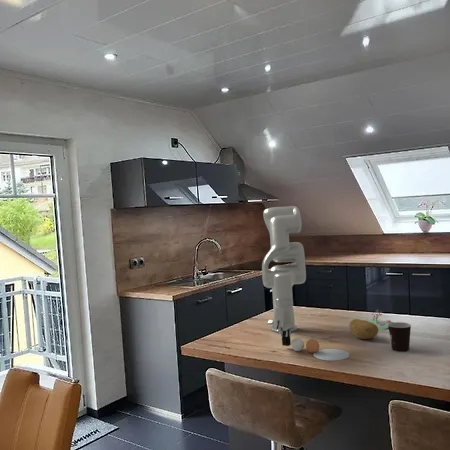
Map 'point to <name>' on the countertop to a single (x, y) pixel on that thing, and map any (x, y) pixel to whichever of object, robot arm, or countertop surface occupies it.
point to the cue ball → (297, 344)
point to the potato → (363, 329)
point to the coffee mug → (399, 336)
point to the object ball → (312, 345)
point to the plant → (378, 322)
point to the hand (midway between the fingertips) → (286, 345)
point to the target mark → (331, 354)
